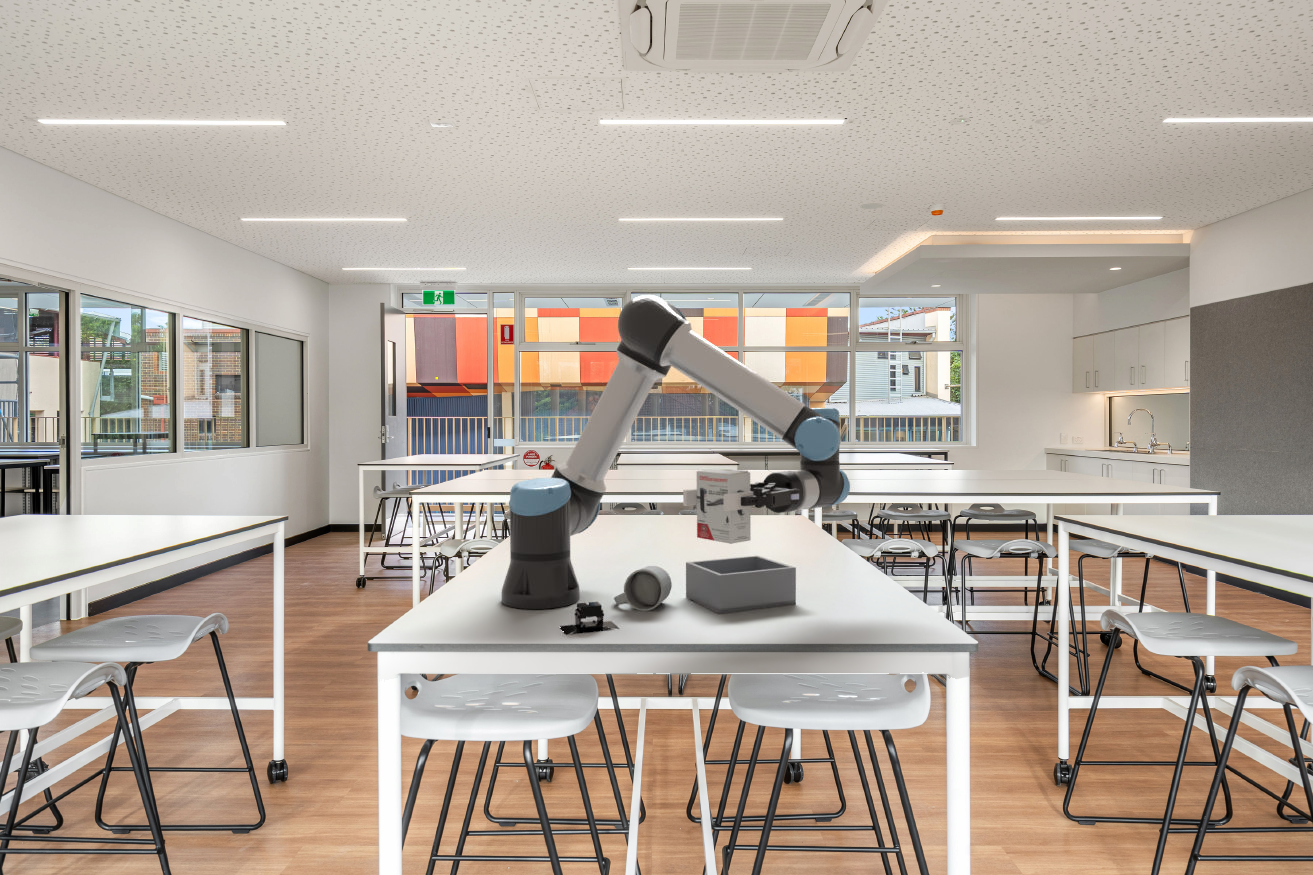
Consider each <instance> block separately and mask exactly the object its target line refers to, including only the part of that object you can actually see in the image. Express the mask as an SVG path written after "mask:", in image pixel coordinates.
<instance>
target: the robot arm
mask: <svg viewBox="0 0 1313 875" xmlns="http://www.w3.org/2000/svg"><path fill="white" fill-rule="evenodd" d="M617 330H618V335H619V336H620V339H621V340H620V343H619V345H618V346H617V349H616V355H617V358H618V362H617V363H616V364H617V365H616V366H615V369H614V371H613V372H612V375H611V376H610V378H609V380H608V381H607V383H606V386H605V388H604V389H603V392H602V394H601V396H600V397H599V399H598V402H597V403H596V405H595V407H594V409H593V410H592V413H591V415H590V416H589V419H588V420H587V422H586V424H585V427H584V428H583V430H582V432H581V434H580V437H579V438H578V440H577V442H576V444H575V446H574V448H573V450H572V452H571V454H570V456H569V457H568V459H567V461H564V462H560V463H558V464H557V465H556V467H555V469H554V470H553V473H552V475H551V477H539V478H538V477H537V478H532V479H526V480H522V481H518V482H517V483H515V484H514V485H513V486H512V487H511V489H510V492H509V493H510V494H509V501H508V506H509V540H510V541H509V544H510V546H509V547H510V548H509V549H510V552H509V553H510V560H509V561H510V562H509V565H508V569H507V572H506V575H505V579H504V581H503V585H502V588H501V603H502V605H505V606H506V607H507V606H508V607H509V608H510V607H511V608H514V609H515V608H516V609H524V610H544V609H545V610H546V609H554V608H559V607H561V608H562V607H565V606H569V605H572V604H575V603H576V602H578V601H579V600H580V598H581V596H580V594H581V593H580V584H579V581H578V579H577V576H576V575H577V574H576V573H575V569H574V566H573V563H572V559H571V537H572V536H574V535H577V534H581V533H582V532H584V531H586V530H587V529H589V527H591V526H592V525H593V524H594V522H595V520H596V519H597V518H598V516H599V512H600V510H601V500H602V498H603V496H604V494H605V493H606V489H607V486H606V484H605V480H604V479H605V477H606V476H607V474H608V471H609V469H610V467H611V466H612V464H613V462H614V461H615V459H616V456H617V455H618V453H619V451H620V449H621V447H622V445H623V443H624V441H625V439H626V437H627V435H628V433H629V432H630V430H631V428H632V426H633V424H634V422H635V420H636V419H637V417H638V415H639V413H640V410H641V409H642V407H643V405H644V403H645V401H646V400H647V398H648V395H649V394H650V392H651V390H652V387H653V386H654V384H655V382H656V381H657V380H660V379H664V378H666V377H667V375H668V373H669V371H670V370H671V367H672V368H674V369H675V370H677V371H679V373H682V374H683V375H684V376H686V377H688V378H689V379H691V380H692V381H693V382H695V383H697V384H698V385H699V386H701V387H702V388H704V389H706V390H707V391H709V392H710V393H711V394H713V395H714V396H716V397H718V398H719V399H721V400H722V401H723V402H725V403H726V404H728V405H729V406H731V407H733V408H734V409H736V410H737V411H739V412H740V413H742V414H743V415H745V416H746V417H747V418H749V419H750V420H752V421H753V422H755V423H756V424H759V425H760V426H761V427H763V428H764V429H765V430H767V431H769V432H770V433H772V434H774V435H775V436H777V437H778V438H779V439H780V440H782V441H784V442H785V443H786V444H788V445H789V446H790V447H792V448H794V449H795V450H797V451H798V453H800V454H799V455H800V460H799V464H800V467H799V468H800V469H795V470H786V471H785V470H784V471H776V472H771V473H769V474H768V475H767V476H766V477H765V478H764V480H763V481H758V482H757V481H756V482H754V483H750V491H749V492H739V493H729V494H724V511H732V510H740V509H748V508H750V509H754V507H755V508H757V509H761V508H763V507H765V508H766V509H769V510H770V511H771V512H772V513H776V514H777V513H778V514H782V513H783V514H784V513H789V512H793V511H794V512H795V513H796V514H800V513H801V512H802V510H809V509H816V508H817V509H818V508H829V507H832V506H836V505H838V504H841V503H843V502H844V501H845V500H846V499H847V498H848V496H849V494H850V489H851V483H850V480H849V477H848V475H847V474H846V473H845V472H844V470H842V469H841V468H840V467H841V466H840V465H841V464H840V445H841V431H840V430H841V421H840V411H839V410H838V409H837V408H835V407H809V406H808V405H806V404H805V403H804V402H802V401H801V400H799V399H797V397H796V398H795V397H794V396H793V395H791V394H790V393H788V392H787V391H785V390H783V389H782V388H781V387H779V386H777V385H776V384H774V383H772V382H771V381H770V380H768V379H766V378H765V377H764V376H762V375H761V374H759V373H758V372H756V371H755V370H753V369H751V368H750V367H748V366H747V365H745V364H743V363H742V362H740V361H739V360H738V359H737V358H735V357H733V356H731V355H730V354H728V353H727V352H725V351H724V350H722V349H721V348H719V347H717V346H716V345H715V344H713V343H711V342H710V341H708V340H707V339H706V338H704V337H703V336H701V335H700V334H698V333H696V332H694V331H693V329H692V324H691V322H689V321H688V320H687V319H686V317H685V315H684V313H682V311H681V310H680V309H679V308H677V307H676V306H675V305H672V304H671V303H669V302H668V301H667V300H665V299H663V298H662V297H660V296H657V295H653V294H643V295H639V296H636V297H633V298H632V299H631V300H629V301H627V303H626V304H625V305H624V306H623V307H622V309H621V311H620V313H619V315H618V321H617ZM682 494H683V501H682V502H683V503H682V504H683V505H682V506H683V507H692V506H697V488H691V489H690V488H689V489H683V492H682Z"/></svg>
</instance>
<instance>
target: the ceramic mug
mask: <svg viewBox="0 0 1313 875" xmlns="http://www.w3.org/2000/svg"><path fill="white" fill-rule="evenodd" d="M672 588H673V587H672V579H671V577H670V574H669V573H668V572H667V571H666V570H665V569H664V568H662V567H659V566H657V565H647V566H646V567H643V568H639V569H637V570H635V571H633V572H632V573H630V574H629V575H628V577H627V578H626V580H625V582H624V584H623V592H622V593H620V594H618V595H616V596H614V597H613V600H614V602H615V604H616V605H622V604H624V603H626V602H627V603H628V604H629V605H630V606H631V608H633V609H634V610H637V611H640V612H648V611H651V610H654V609H656V608H657V607H658V606H659V605H660V604H661V603H663V602H664V601H666V599H667V598H668V597H669V595H670V593H671V591H672Z"/></svg>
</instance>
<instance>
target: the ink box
mask: <svg viewBox="0 0 1313 875" xmlns="http://www.w3.org/2000/svg"><path fill="white" fill-rule="evenodd" d="M750 484H751V472H750V471H748V470H742V469H729V468H728V469H727V468H711V469H710V468H709V469H704V470H703V469H702V470H697V471H696V489H697V505H696V537H697V539H702V540H709V541H714V542H720V543H725V544H729V545H730V544H731V545H732V544H737V543H743V542H750V541H751V540H752V539H751V508H748V509H740V510H732V511H724V494H729V493H739V492H749V491H750Z"/></svg>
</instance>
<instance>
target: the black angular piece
mask: <svg viewBox="0 0 1313 875" xmlns="http://www.w3.org/2000/svg"><path fill="white" fill-rule="evenodd" d="M574 611H575V612H574V613H573V615H574V624H568V625H559V626H560V627H561V628H559V630H562V631H564V632H562V631H561V632H562V633H563V634H564V635H565V634H566V635H565V636H570V635H572V636H573V635H579V634H589V633H598V632H600V633H601V632H608V631H609V632H610V631H619V630H620V627H619V626H617V625H616V624H615V623H614V622H613V621H612V620H606V621H604V617H605V613H604V610H603V609H602V604H601V603H599V602H598V601H588V603H586V602H578V603H576V608H575V610H574ZM595 617H596V618H597V619H596V620H595V619H593V620H592V621H590V620H589V621H582V620H584V619H587V618H595Z"/></svg>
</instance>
